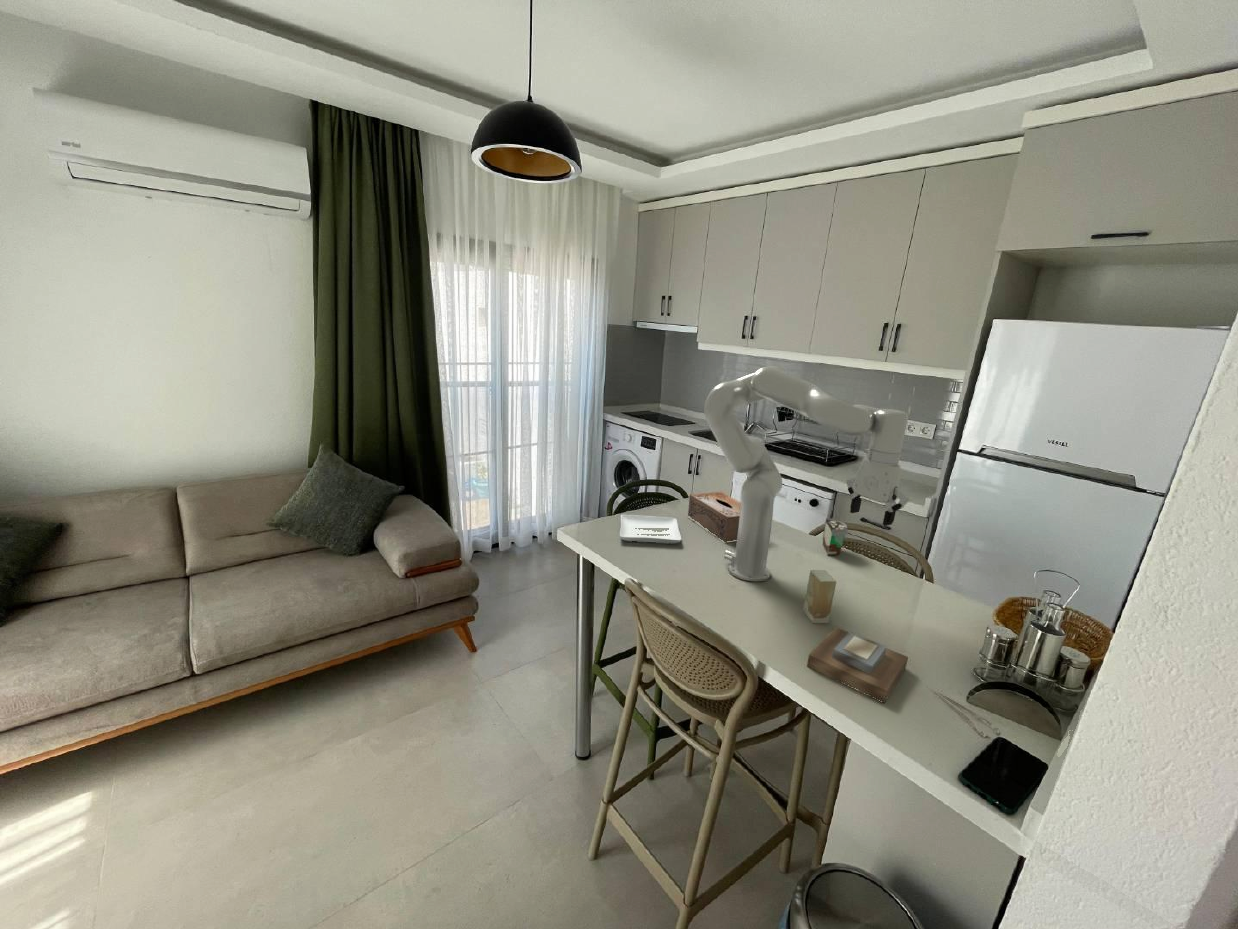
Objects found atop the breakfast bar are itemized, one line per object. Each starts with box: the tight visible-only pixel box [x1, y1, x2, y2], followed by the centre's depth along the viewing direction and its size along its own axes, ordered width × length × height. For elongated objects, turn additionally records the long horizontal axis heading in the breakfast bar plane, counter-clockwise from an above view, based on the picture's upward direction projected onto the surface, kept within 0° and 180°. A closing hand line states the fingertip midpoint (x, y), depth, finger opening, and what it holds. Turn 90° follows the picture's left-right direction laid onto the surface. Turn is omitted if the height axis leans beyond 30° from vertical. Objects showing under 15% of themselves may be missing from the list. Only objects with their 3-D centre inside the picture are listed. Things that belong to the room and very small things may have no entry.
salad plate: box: [619, 514, 682, 545], centre depth 182 cm, size 21×21×3 cm
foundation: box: [806, 626, 909, 703], centre depth 112 cm, size 16×16×5 cm
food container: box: [821, 517, 849, 557], centre depth 174 cm, size 12×6×10 cm, turn 168°
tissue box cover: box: [687, 491, 741, 542], centre depth 191 cm, size 26×14×10 cm, turn 22°
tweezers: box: [926, 685, 1000, 738], centre depth 103 cm, size 17×5×2 cm, turn 17°
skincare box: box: [802, 569, 837, 624], centre depth 131 cm, size 6×4×12 cm
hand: (870, 518), depth 136 cm, fingers open, 9 cm apart
